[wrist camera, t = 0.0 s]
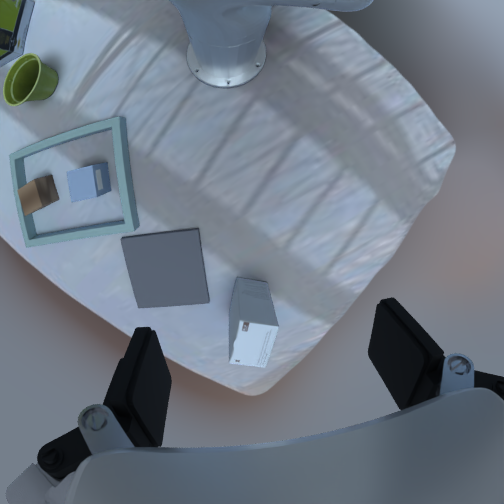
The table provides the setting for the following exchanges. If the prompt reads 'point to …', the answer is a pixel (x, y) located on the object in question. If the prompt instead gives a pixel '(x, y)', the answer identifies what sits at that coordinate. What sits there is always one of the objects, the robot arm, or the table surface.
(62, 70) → the table surface
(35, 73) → the plant pot
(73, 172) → the slate box
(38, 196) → the walnut block
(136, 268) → the mat
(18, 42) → the tea box
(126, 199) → the tray
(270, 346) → the skincare box
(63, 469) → the robot arm
